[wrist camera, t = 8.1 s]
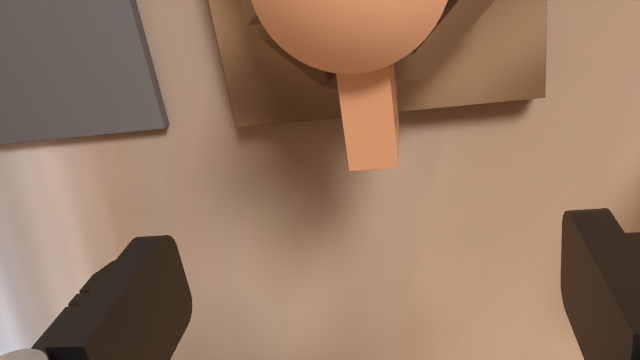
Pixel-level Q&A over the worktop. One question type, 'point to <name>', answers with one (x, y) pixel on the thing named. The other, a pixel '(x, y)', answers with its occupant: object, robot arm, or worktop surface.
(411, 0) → the peach ice lolly
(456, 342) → the worktop surface
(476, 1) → the walnut holder
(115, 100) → the charcoal mat
